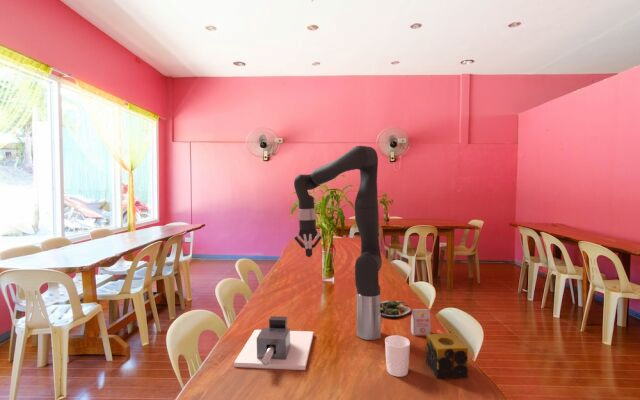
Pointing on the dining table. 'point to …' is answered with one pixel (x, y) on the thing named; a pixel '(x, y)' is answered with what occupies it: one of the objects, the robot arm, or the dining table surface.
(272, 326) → the shaft
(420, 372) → the dining table surface
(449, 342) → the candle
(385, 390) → the dining table surface
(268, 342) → the block
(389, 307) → the salad plate
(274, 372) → the dining table surface
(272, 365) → the base board
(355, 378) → the dining table surface
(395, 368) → the white cup
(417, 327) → the white cardboard box
